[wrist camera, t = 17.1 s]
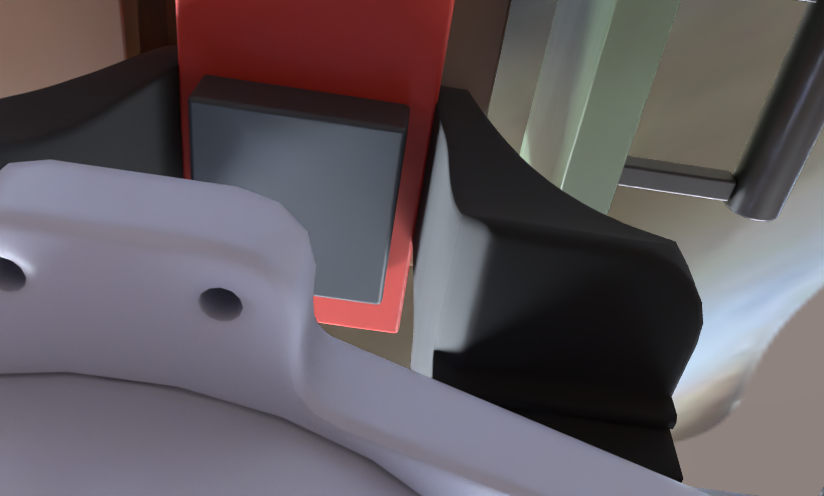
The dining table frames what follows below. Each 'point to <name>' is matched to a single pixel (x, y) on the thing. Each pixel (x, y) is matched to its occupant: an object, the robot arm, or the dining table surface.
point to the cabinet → (62, 40)
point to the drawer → (616, 99)
